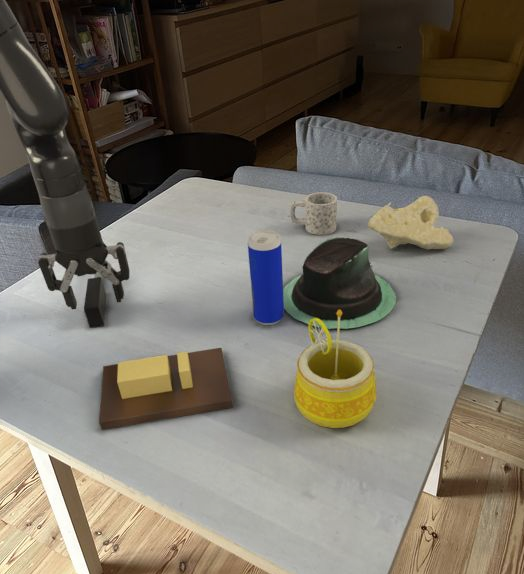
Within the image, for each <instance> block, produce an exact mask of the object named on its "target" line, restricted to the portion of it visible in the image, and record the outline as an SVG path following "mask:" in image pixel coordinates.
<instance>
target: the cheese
mask: <svg viewBox="0 0 524 574" xmlns="http://www.w3.org/2000/svg"><path fill="white" fill-rule="evenodd" d="M391 204H392V202H389V203H388V204H387V205H386V204H385V205H384V206H383V207H382V208H380V209H379V210H376V213H375V214H374V215H373V216H372V217H370V219H369V222H368V224H367V226H368V228H369V229H370V230H371V231H374V232H376V233H378V234H379V235H381V236H382V237H383V239H384V240H385V241H386V244H387V246H388V247H389V249H390V250H394V248H396V247H398V246H399V245H406V244H411V245H415V246H417V247H418V248H420V249H424V250H426V251H427V250H446V249H448V248H449V247H451V246H452V245H453V243H454V238H453V235H452V234H451V233H450V232H449V230H448V229H447V228H444V227H443V226H440V227H436V223H437V222H438V219H439V217H440V215H439V214H440V211H439V207H438V205H437V203H436V202H435V200H434V199H433V198H432V197H430V196H428V195H422V196H420V197H418V198H417V199H416V200H414V201H413V202H412V203H410V204H408V205H406V206H404V207H398V208H396V209H393V207H391V206H390V205H391Z"/></svg>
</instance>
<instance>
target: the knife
mask: <svg viewBox="0 0 524 574" xmlns="http://www.w3.org/2000/svg"><path fill="white" fill-rule="evenodd" d="M93 276H94V277H90V278H87V281H86V282H87V283H86V290H85V297H84V304H83V312H84V314H85V318H86V321H87V324H88V327H89V328H90V329H92V328H98V327H104V326H105V315H106V305H107V292H106V289H105V286H104V285H105V284H104V282H103V279H104V277H103V276H102V275H101V274H99V273H98V272H97V273H96V274H94V275H93Z"/></svg>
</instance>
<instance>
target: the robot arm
mask: <svg viewBox="0 0 524 574" xmlns="http://www.w3.org/2000/svg"><path fill="white" fill-rule="evenodd" d="M0 93H1V95H2V96H3V98H4V100H5V105H6V107H7V108H6V109H7V111H8V114H9V117H10V120H11V122H12V124H13V127H14V130H15V132H16V134H17V137H18V139H19V141H20V143H21V146H22V147H23V150H24V152H25V155H26V157H27V160H28V164H29V166H30V171H31V175H32V179H33V181H34V185H35V187H36V190H37V193H38V198H39V202H40V206H41V207H40V208H41V210H42V214H43V215H42V216H43V219H44V222H45V223H46V226H47V229H48V231H49V234H50V237H51V241H52V244H53V247H54V249H55V253H52V254H51V253H50V254H47V252H42V253H40V255H39V259H38V262H37V263H38V267H39V270H40V271H41V274H42V276H43V280H44V281H45V285H46V287H47V290H48V291H50V292H54V291H59V292H60V293H62V296H63V299H64V302H65V305H66V306H67V307H68V308H70V309H71V310H77V307H78V301H77V299H76V296H75V293H74V290H73V286H72V285H71V283H72V281H73V279H74V276H77V277H83V276H85V275H95V274H96V273H97V272H98V273H99V274H101V275H102V276H103V279H107V280H108V281H109V282H110V283H112V285H111V286H112V290H113V293H114V297H115V301H116V303H117V304H119V303H122V300H123V299H124V297H125V290H124V287H123V282H124V281H129V279H130V267H129V266H130V265H129V262H128V256H127V252H126V248H125V245H124V243H123V242H122V241H119V242H117V243H116V245H108V246H107V245H106V243H105V242H104V241H103V237H102V234H101V231H100V226H99V223H98V218H97V216H96V215H97V214H96V210H95V208H94V204H93V201H92V197H91V195H90V192H89V190H88V188H87V183H86V180H85V178H84V173H83V170H82V166H81V163H80V160H79V157H78V155H77V153H76V151H75V150H74V148H73V147H72V145H71V143H70V141H69V138H68V135H67V131H66V126H67V124H68V121H69V116H70V110H69V103H68V101H67V99H66V97H65V95H64V93H63V91H62V90H61V88H60V85H59V84H58V83H57V81H56V79H55V78H54V77H53V75H52V74H51V72H50V71H49V69H48V68H47V66H46V65H45V63H44V61H42V59H41V57H40V56H39V55H38V54H37V52H36V51H35V49H34V48H33V47H32V45H31V44H30V41H29V40H28V39H27V36H26V34H25V33H24V31H23V29H22V27H21V25H20V23H19V21H18V20H17V18H16V17H15V14H14V13H13V11H12V9H11V7H10V6H9V5H8V2H7V1H6V0H0ZM108 255H111V256H112V258H113V259H114V260H117V261H118V265H119V271H118V270H116V269H115V268H114V267H113V266H112V264H111V263H110V262H109V261H108V260H107V258H108ZM55 263H58V265H60V266H61V267H63V268H64V269H65V270H64V274H63V276H62V279H57V277H56V273H55V271H54V266H55Z"/></svg>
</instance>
